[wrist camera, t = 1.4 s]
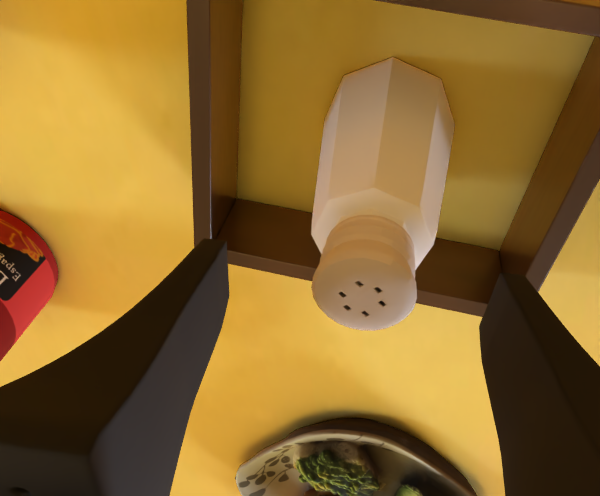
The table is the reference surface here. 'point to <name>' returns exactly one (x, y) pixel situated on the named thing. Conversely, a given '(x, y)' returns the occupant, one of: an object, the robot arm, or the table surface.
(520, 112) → the table surface
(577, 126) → the rectangular frame
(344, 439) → the salad plate
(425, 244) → the salt shaker
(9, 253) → the canned food
